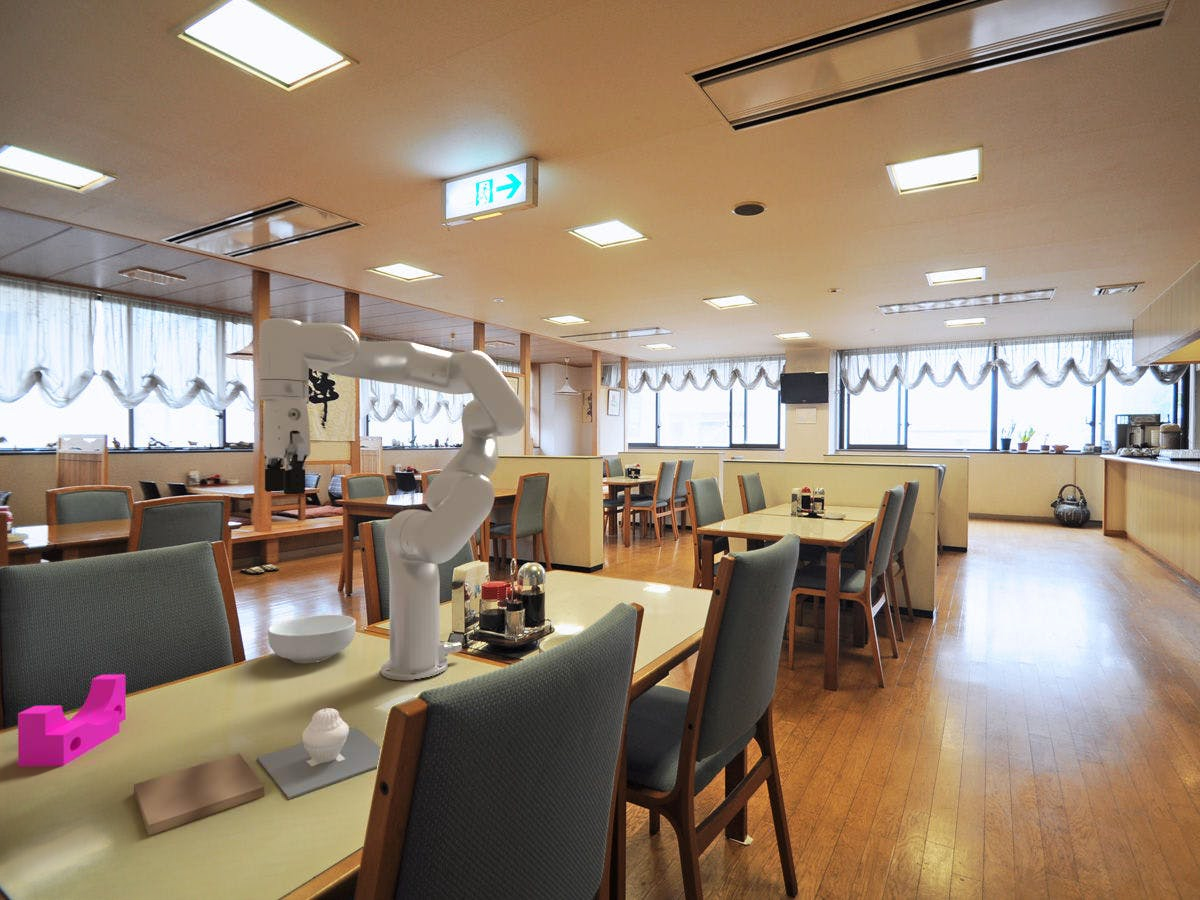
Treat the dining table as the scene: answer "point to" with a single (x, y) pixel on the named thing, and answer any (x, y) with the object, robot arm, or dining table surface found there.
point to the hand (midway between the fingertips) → (284, 492)
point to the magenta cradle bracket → (72, 725)
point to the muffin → (325, 735)
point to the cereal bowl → (311, 637)
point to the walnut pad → (196, 792)
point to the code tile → (320, 765)
